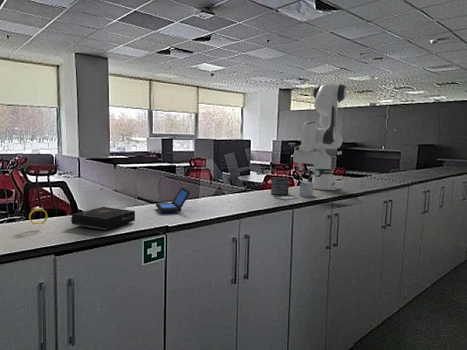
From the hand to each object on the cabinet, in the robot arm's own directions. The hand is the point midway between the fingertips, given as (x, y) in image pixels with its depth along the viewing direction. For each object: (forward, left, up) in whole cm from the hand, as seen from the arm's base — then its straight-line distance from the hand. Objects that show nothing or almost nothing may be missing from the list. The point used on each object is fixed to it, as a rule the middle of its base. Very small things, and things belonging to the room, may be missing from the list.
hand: (307, 171), depth 217 cm
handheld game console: (+87, -10, -16) cm, 89 cm away
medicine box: (0, 0, -16) cm, 16 cm away
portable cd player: (+123, -1, -16) cm, 124 cm away
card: (+16, -1, -16) cm, 22 cm away
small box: (+8, -14, -16) cm, 23 cm away
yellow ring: (+144, -9, -16) cm, 145 cm away
